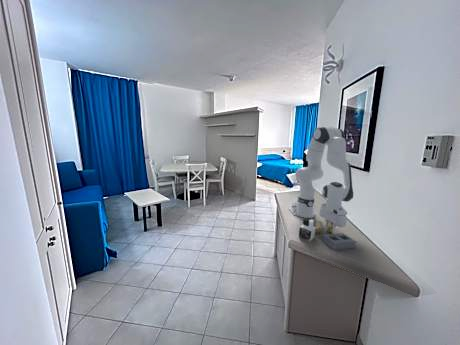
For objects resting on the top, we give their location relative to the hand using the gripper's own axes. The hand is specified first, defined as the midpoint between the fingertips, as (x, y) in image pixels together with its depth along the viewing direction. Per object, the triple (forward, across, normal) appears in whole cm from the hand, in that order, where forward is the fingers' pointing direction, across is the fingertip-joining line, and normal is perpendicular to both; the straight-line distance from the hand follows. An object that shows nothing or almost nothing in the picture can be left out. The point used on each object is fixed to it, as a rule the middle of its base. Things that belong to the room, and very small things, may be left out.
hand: (330, 227), depth 133 cm
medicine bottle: (+4, +4, -20) cm, 20 cm away
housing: (+4, +14, -5) cm, 15 cm away
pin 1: (+4, 0, -9) cm, 10 cm away
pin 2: (+4, 0, 0) cm, 4 cm away
